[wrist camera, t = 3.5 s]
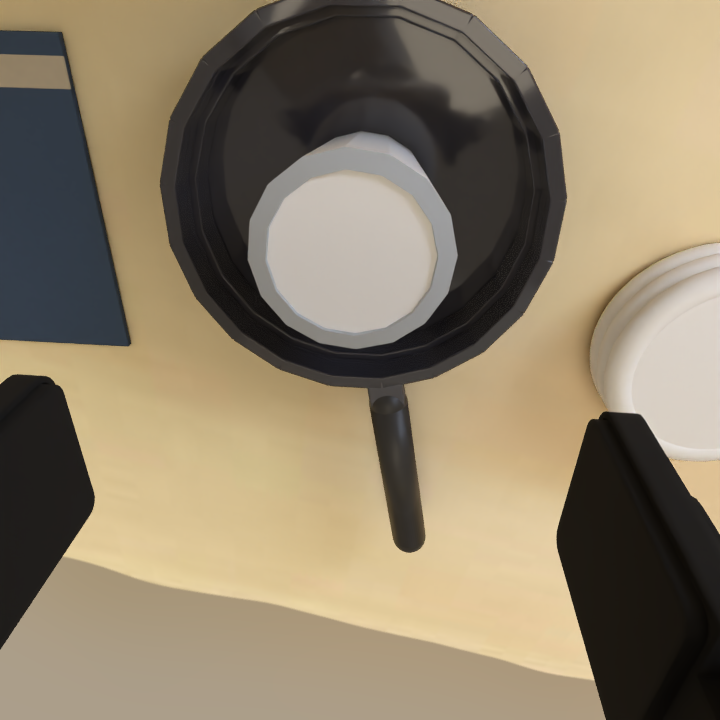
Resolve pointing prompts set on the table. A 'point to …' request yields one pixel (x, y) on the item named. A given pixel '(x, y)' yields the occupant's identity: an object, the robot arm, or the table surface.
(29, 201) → the cloth
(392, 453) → the pan handle
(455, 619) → the table surface
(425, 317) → the white cup
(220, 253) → the pan
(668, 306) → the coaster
